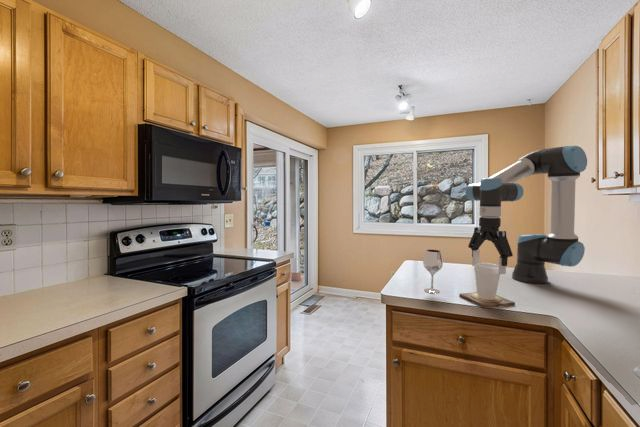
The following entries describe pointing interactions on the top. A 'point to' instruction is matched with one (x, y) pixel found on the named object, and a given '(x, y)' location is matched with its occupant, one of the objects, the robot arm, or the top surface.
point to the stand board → (484, 302)
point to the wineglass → (432, 266)
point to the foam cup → (486, 280)
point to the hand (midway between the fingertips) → (488, 269)
